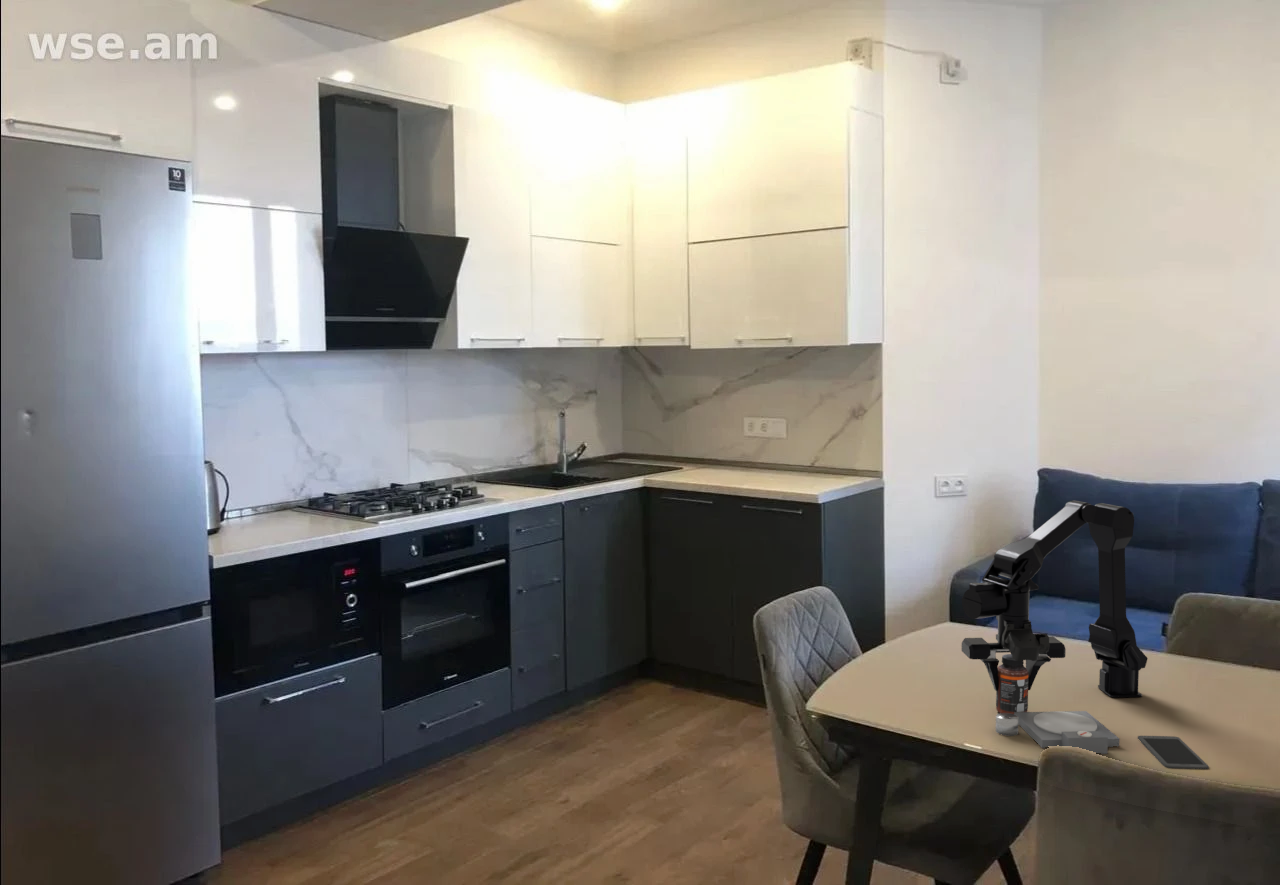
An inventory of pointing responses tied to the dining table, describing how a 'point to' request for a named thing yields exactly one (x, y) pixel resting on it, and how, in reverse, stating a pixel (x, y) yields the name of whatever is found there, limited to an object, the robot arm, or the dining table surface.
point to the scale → (1067, 730)
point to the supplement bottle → (1012, 686)
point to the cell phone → (1172, 752)
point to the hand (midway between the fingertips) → (1012, 690)
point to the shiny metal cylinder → (1007, 724)
